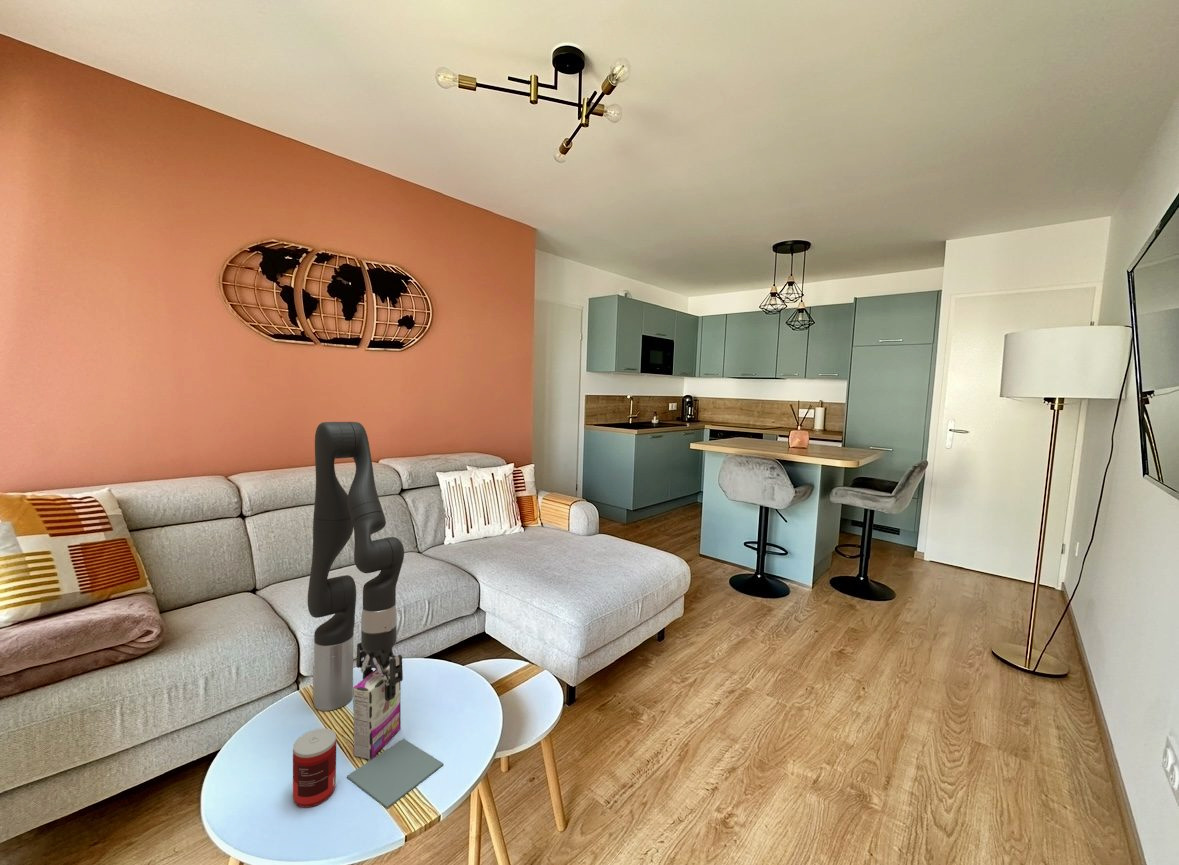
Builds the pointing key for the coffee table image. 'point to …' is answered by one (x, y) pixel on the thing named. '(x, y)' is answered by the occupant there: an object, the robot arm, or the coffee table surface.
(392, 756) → the mat
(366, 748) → the candy bar box
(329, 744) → the canned food
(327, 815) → the coffee table surface
